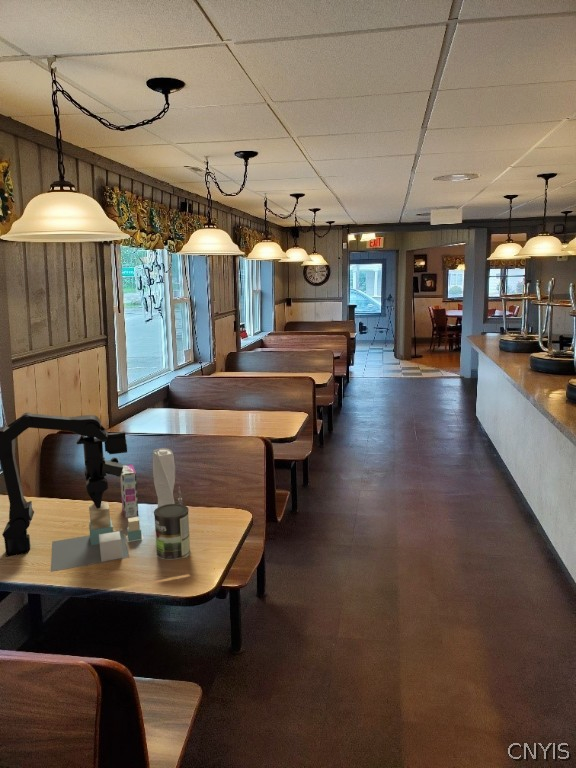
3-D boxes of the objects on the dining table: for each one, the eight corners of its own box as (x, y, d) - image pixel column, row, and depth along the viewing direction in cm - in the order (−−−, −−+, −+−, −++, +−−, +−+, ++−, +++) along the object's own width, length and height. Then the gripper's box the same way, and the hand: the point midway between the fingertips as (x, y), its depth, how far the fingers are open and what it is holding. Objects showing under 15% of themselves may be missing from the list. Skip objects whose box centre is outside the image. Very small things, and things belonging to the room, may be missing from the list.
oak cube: (91, 529, 184) (89, 511, 183) (90, 522, 190) (88, 504, 189) (110, 526, 186) (109, 508, 185) (109, 519, 192) (108, 502, 191)
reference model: (127, 543, 187) (126, 523, 185) (126, 537, 191) (124, 517, 190) (143, 540, 188) (142, 521, 187) (141, 534, 193) (140, 515, 192)
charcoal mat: (51, 573, 169) (50, 571, 169) (52, 543, 188) (52, 541, 188) (129, 559, 176) (129, 557, 176) (123, 531, 196) (123, 529, 195)
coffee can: (167, 565, 172) (164, 520, 170) (150, 553, 180) (147, 509, 177) (197, 554, 179) (194, 510, 176) (180, 542, 186) (177, 500, 184)
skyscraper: (174, 530, 195) (169, 450, 190) (151, 528, 197) (146, 448, 192) (184, 520, 203) (180, 442, 198) (163, 518, 205) (158, 441, 200)
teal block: (90, 545, 185) (89, 530, 184) (90, 536, 191) (88, 522, 190) (114, 541, 187) (112, 526, 186) (112, 532, 193) (111, 518, 192)
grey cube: (101, 561, 174) (99, 542, 173) (100, 552, 179) (98, 534, 178) (122, 557, 176) (121, 539, 175) (120, 549, 181) (119, 531, 180)
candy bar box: (139, 517, 207) (136, 472, 204) (125, 519, 205) (121, 474, 202) (135, 506, 217) (132, 463, 214) (122, 508, 216) (118, 465, 213)
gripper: (123, 461, 178) (126, 509, 181) (117, 444, 195) (121, 489, 198) (84, 465, 174) (88, 515, 177) (82, 449, 191) (86, 494, 194)
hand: (97, 502), depth 187 cm, fingers open, 9 cm apart
